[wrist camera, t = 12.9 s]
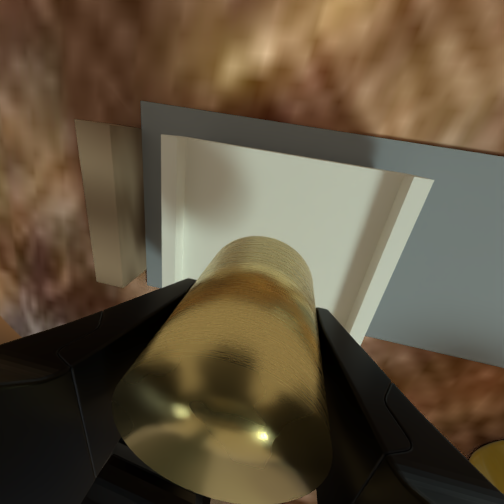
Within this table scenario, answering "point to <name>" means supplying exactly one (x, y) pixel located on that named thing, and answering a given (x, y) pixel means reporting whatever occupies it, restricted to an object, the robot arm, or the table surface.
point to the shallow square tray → (289, 217)
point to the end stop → (113, 199)
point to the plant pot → (491, 463)
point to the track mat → (418, 244)
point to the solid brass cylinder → (234, 382)
